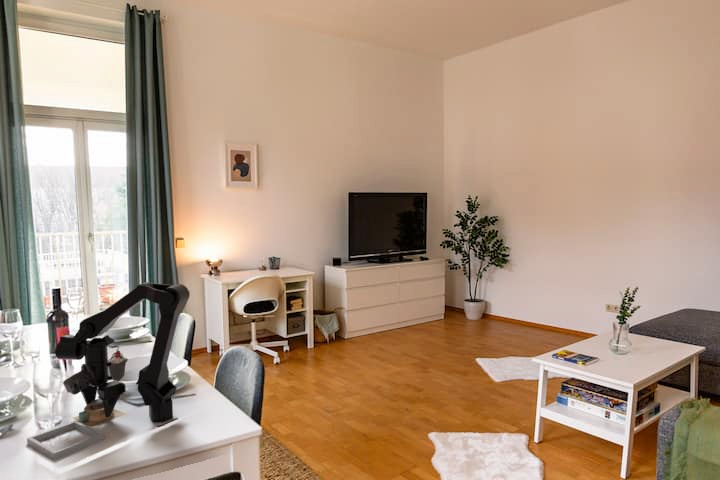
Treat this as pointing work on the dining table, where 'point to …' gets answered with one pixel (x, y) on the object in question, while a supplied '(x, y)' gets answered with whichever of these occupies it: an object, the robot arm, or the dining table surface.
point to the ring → (93, 414)
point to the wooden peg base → (98, 405)
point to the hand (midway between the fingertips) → (99, 413)
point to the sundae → (117, 365)
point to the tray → (54, 454)
